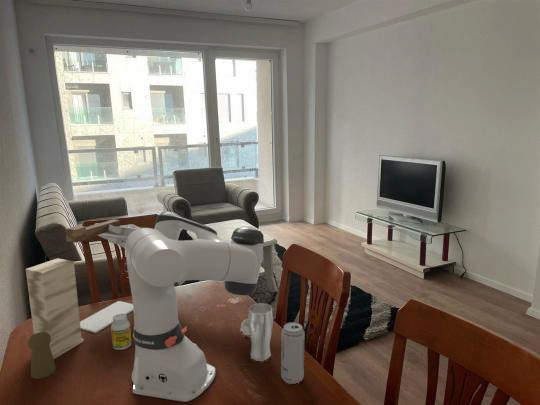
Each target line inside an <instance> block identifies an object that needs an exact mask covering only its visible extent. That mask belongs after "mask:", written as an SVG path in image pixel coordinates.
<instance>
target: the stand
mask: <svg viewBox="0 0 540 405" xmlns="http://www.w3.org/2000/svg"><path fill="white" fill-rule="evenodd" d="M25 275H26V282H27V290H28V298H29V306H30V313H31V322H32V331H33V335H34V334H36V333H39V332H47V333H48V334H49V335H50V336H51V342H50V344H49V345H50V349H51V352H52V356H53V359H54V360H55V359H57V358H58V357H60V356H62V355H63V354H65V353H67V352H68V351H70V350H72V349H73V348H75V347H76V346H78V345H80V344H81V343H83V342H84V338H82V331H81V330H82V329H81V328H80V321H81V320H80V319H81V318H80V309H79V299H78V291H77V279H76V271H75V262H74V260H68V259H64V258H59V257H57V258H53V259H51V260H49V261H48V260H47V261H45V262H43V263H40V264H36V265H34V266H31V267H27V268H25Z"/></svg>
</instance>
